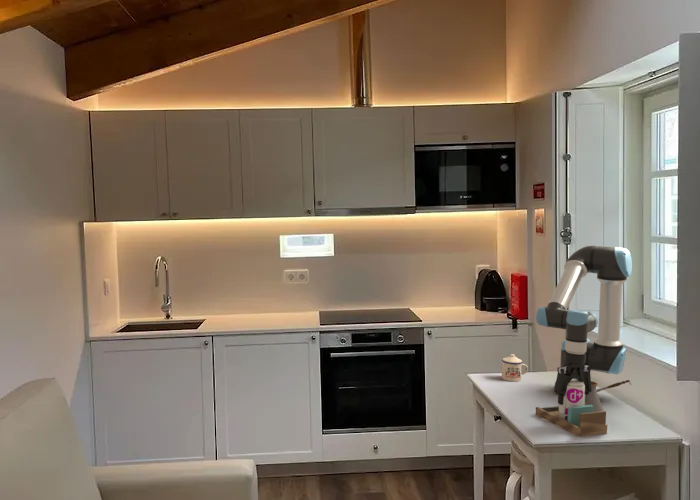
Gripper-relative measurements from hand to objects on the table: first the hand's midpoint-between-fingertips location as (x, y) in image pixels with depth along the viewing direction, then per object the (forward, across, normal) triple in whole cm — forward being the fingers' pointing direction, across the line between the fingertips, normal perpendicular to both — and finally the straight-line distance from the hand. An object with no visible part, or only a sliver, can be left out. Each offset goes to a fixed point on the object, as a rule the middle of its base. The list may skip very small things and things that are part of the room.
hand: (571, 411), depth 242 cm
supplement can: (+4, 0, 0) cm, 4 cm away
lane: (+5, 0, 0) cm, 5 cm away
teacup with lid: (+5, -16, -57) cm, 60 cm away
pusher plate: (+3, 0, +5) cm, 6 cm away
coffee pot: (+5, -18, -4) cm, 19 cm away
